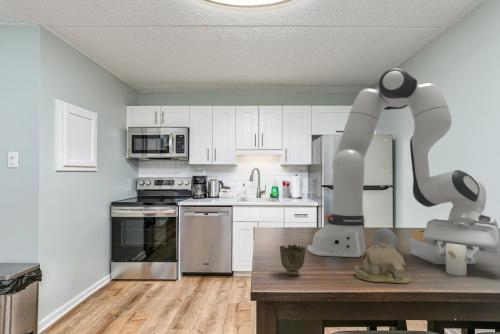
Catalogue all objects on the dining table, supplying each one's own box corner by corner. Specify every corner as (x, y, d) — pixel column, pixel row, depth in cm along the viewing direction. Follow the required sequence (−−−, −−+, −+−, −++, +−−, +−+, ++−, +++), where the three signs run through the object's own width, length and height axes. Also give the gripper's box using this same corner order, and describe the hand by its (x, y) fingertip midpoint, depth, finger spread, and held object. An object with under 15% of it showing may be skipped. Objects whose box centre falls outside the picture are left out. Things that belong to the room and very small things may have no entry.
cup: (287, 280, 87) (287, 250, 87) (274, 272, 94) (275, 245, 94) (310, 277, 90) (310, 248, 90) (296, 270, 96) (296, 243, 97)
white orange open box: (434, 264, 105) (434, 236, 106) (411, 253, 119) (411, 229, 120) (483, 263, 106) (483, 236, 107) (454, 253, 120) (454, 230, 121)
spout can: (449, 269, 99) (448, 242, 99) (468, 273, 95) (468, 244, 96) (440, 275, 93) (439, 246, 94) (460, 279, 89) (460, 249, 90)
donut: (371, 252, 120) (371, 226, 121) (377, 252, 122) (377, 225, 122) (393, 259, 112) (393, 230, 112) (400, 258, 113) (400, 229, 113)
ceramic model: (394, 272, 96) (394, 238, 97) (417, 284, 85) (417, 246, 86) (349, 273, 95) (349, 239, 95) (368, 285, 84) (368, 247, 84)
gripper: (426, 212, 108) (415, 245, 101) (502, 219, 93) (495, 257, 86) (431, 224, 111) (420, 257, 104) (505, 232, 96) (499, 271, 89)
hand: (455, 257), depth 95 cm, fingers open, 6 cm apart
